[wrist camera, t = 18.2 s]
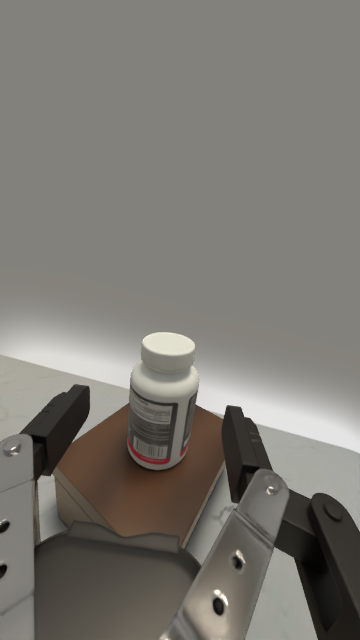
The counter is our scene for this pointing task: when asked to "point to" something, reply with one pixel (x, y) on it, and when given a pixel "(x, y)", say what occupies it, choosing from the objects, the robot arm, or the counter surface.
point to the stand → (138, 480)
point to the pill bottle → (162, 400)
